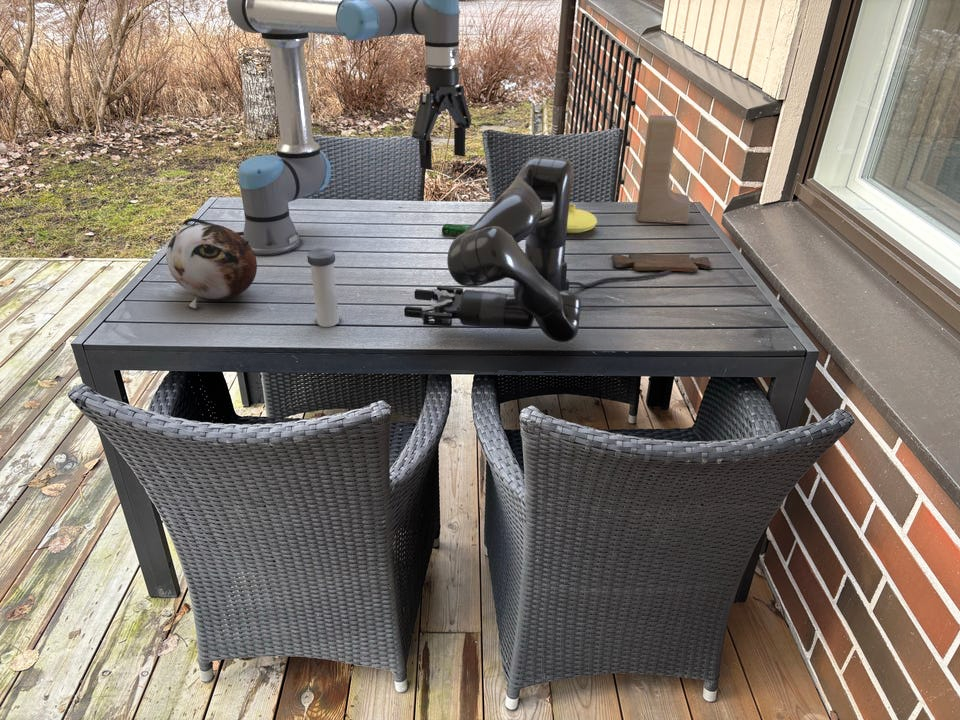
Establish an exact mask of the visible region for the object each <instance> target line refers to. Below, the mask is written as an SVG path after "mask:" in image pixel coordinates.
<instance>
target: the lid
mask: <svg viewBox="0 0 960 720" xmlns="http://www.w3.org/2000/svg"><path fill="white" fill-rule="evenodd" d="M335 262H336V255H335V251H334V250H333V249H330V248H315V249H312V250H310V251H308V252H307V263H308V264H309V265H310V266H311V265H312V266H328V265H331V264H333V265H334V263H335Z"/></svg>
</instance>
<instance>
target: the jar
mask: <svg viewBox="0 0 960 720" xmlns="http://www.w3.org/2000/svg"><path fill="white" fill-rule="evenodd" d="M310 271H311V272H310V273H311V279H312V290H313V297H314V298H313V299H314V304H315V305H314V307H315V314H316V323H317V325H318V326H320V327H322V328H331V327H334V326H336V325H338V324H339V323H340V318H339V307H338V296H337V287H336V277H335V265H334V263H333V264H331V265H328V266H312V265H310Z"/></svg>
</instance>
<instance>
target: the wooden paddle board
mask: <svg viewBox="0 0 960 720" xmlns="http://www.w3.org/2000/svg"><path fill="white" fill-rule="evenodd" d="M690 258H691V254H689V253H687V254H686V253H680V254H679V253H669V254H667V253H666V254H665V253H664V254H661V253H660V254H657V253H636V252H635V253H633V252H632V253H631V252H630V253H628V256H626V255H623V254H621V253H619V254H612V255H611V261H612V264H613V267H614V268H615V269H623V268H629V267H633V270H634V271H637V272H647V271H663V272H664V271H667V270H670V271H671V272H688V273H689V272H692V273H693V272H694V273H695V272H698V271H699V269H700V268H701V269H705V270H710V269H711V262H710V259H709V256H700V257H693V259H690Z"/></svg>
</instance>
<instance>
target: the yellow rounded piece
mask: <svg viewBox="0 0 960 720" xmlns="http://www.w3.org/2000/svg"><path fill="white" fill-rule="evenodd" d="M597 223H598V219H597V217H596V215H595V214H593V213H591V212H589V211H587V210H584V209H578V208H576V205H575V204H571V203H569V213H568V222H567V233H566V234H580V233H584V232H585V233H586V232H587V231H591V230H592V229H594V228H596V226H597Z"/></svg>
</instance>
